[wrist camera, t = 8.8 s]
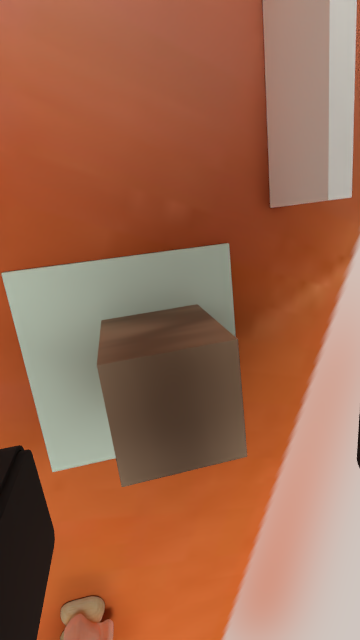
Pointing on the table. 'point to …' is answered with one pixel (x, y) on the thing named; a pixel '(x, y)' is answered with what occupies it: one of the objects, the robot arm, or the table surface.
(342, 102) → the open side box
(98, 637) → the grandmother figurine
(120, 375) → the walnut block
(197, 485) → the table surface
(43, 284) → the sage mat
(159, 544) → the table surface
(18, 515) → the robot arm
